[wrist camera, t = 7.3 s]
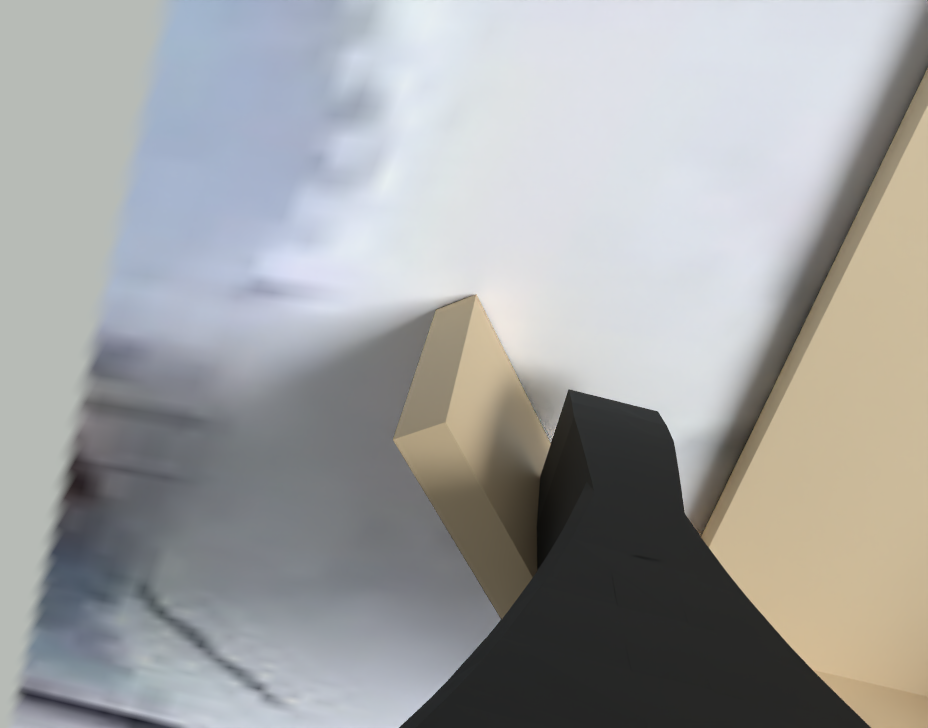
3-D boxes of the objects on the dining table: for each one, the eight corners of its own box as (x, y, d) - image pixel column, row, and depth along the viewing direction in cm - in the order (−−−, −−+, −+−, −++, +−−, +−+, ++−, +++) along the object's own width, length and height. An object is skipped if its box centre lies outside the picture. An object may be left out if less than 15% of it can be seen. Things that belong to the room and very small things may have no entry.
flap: (641, 618, 13) (660, 810, 10) (600, 628, 13) (609, 818, 10) (479, 293, 10) (447, 432, 8) (432, 311, 11) (384, 452, 8)
